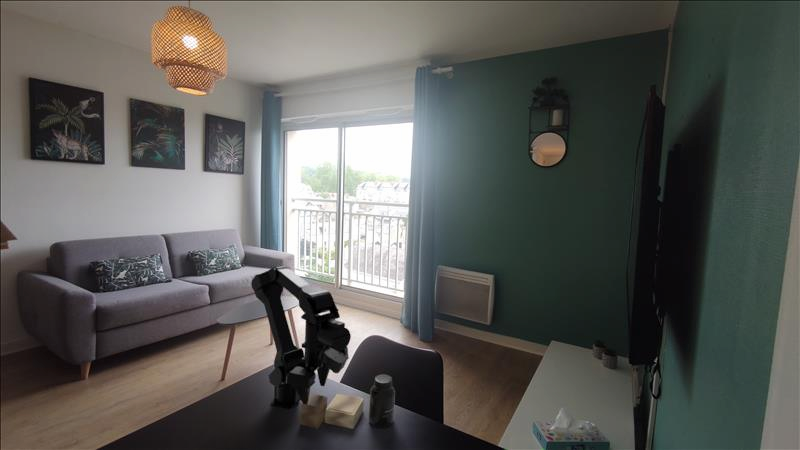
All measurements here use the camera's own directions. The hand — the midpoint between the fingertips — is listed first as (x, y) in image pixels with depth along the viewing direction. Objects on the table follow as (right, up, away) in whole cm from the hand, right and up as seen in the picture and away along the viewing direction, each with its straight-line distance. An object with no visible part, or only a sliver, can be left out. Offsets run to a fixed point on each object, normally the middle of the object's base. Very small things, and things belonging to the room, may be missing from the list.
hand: (314, 394), depth 96 cm
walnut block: (0, -7, +1) cm, 8 cm away
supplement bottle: (+18, -8, +2) cm, 20 cm away
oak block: (+8, -8, +3) cm, 11 cm away
